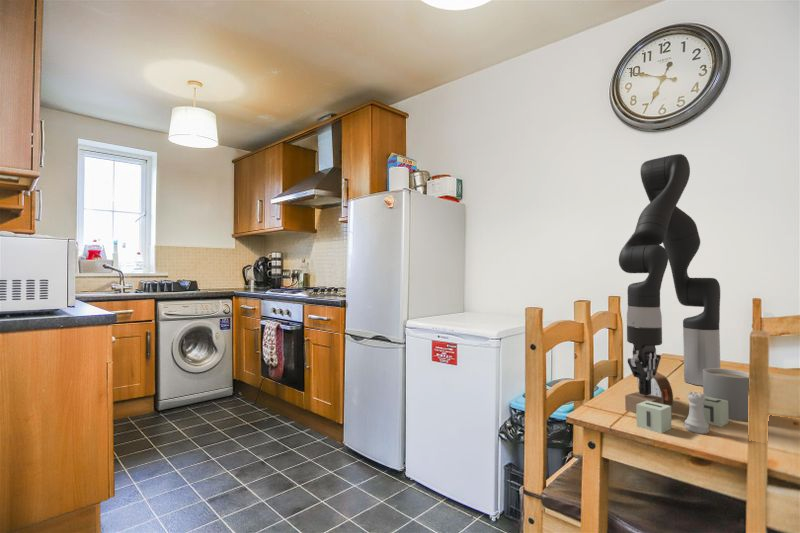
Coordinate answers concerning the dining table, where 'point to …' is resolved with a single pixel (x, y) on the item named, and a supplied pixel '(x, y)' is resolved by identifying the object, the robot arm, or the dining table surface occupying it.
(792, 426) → the dining table surface
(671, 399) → the tin
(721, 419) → the numbered block seven
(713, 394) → the coffee mug
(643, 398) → the walnut block
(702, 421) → the rook chess piece
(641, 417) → the numbered block one
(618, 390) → the dining table surface
